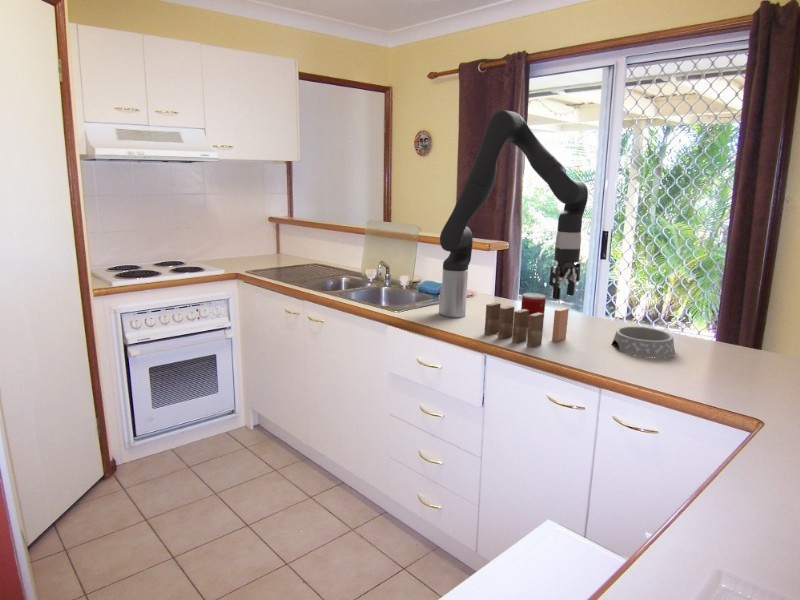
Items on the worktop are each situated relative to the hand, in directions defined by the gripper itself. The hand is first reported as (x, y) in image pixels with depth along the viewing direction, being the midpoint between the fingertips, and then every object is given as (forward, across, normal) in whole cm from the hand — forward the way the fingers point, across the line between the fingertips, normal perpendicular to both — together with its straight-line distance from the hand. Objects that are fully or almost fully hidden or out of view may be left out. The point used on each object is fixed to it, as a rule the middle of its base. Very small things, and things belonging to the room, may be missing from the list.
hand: (563, 297), depth 173 cm
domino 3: (+14, +12, -7) cm, 20 cm away
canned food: (+14, -7, -15) cm, 22 cm away
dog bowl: (+15, -12, +22) cm, 29 cm away
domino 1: (+14, +12, -18) cm, 26 cm away
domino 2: (+14, +12, -13) cm, 22 cm away
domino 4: (+14, +12, -2) cm, 19 cm away
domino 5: (+14, 0, 0) cm, 14 cm away
